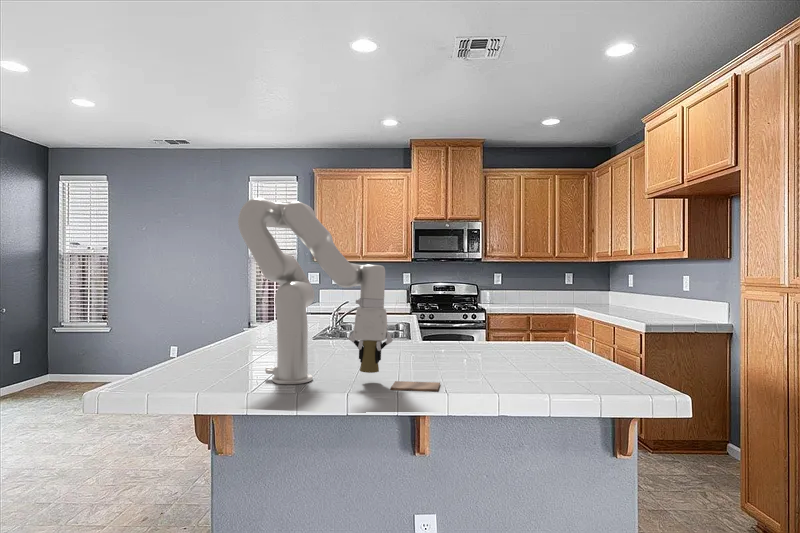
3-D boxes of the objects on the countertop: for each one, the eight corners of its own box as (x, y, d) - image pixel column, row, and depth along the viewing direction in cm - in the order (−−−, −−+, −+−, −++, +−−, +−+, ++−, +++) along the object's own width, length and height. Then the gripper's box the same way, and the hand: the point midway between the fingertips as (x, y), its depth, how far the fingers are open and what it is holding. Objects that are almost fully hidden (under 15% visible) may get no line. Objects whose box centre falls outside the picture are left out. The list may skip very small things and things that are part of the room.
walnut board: (390, 389, 156) (390, 387, 156) (395, 383, 165) (395, 381, 165) (437, 391, 154) (437, 389, 154) (440, 384, 163) (440, 382, 163)
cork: (380, 369, 169) (381, 335, 169) (377, 373, 163) (378, 337, 163) (361, 368, 169) (362, 334, 169) (358, 372, 163) (359, 336, 163)
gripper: (343, 303, 163) (340, 362, 164) (396, 306, 161) (394, 366, 161) (348, 302, 171) (346, 358, 171) (400, 304, 168) (397, 361, 169)
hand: (369, 361), depth 166 cm, fingers closed on cork, 4 cm apart
